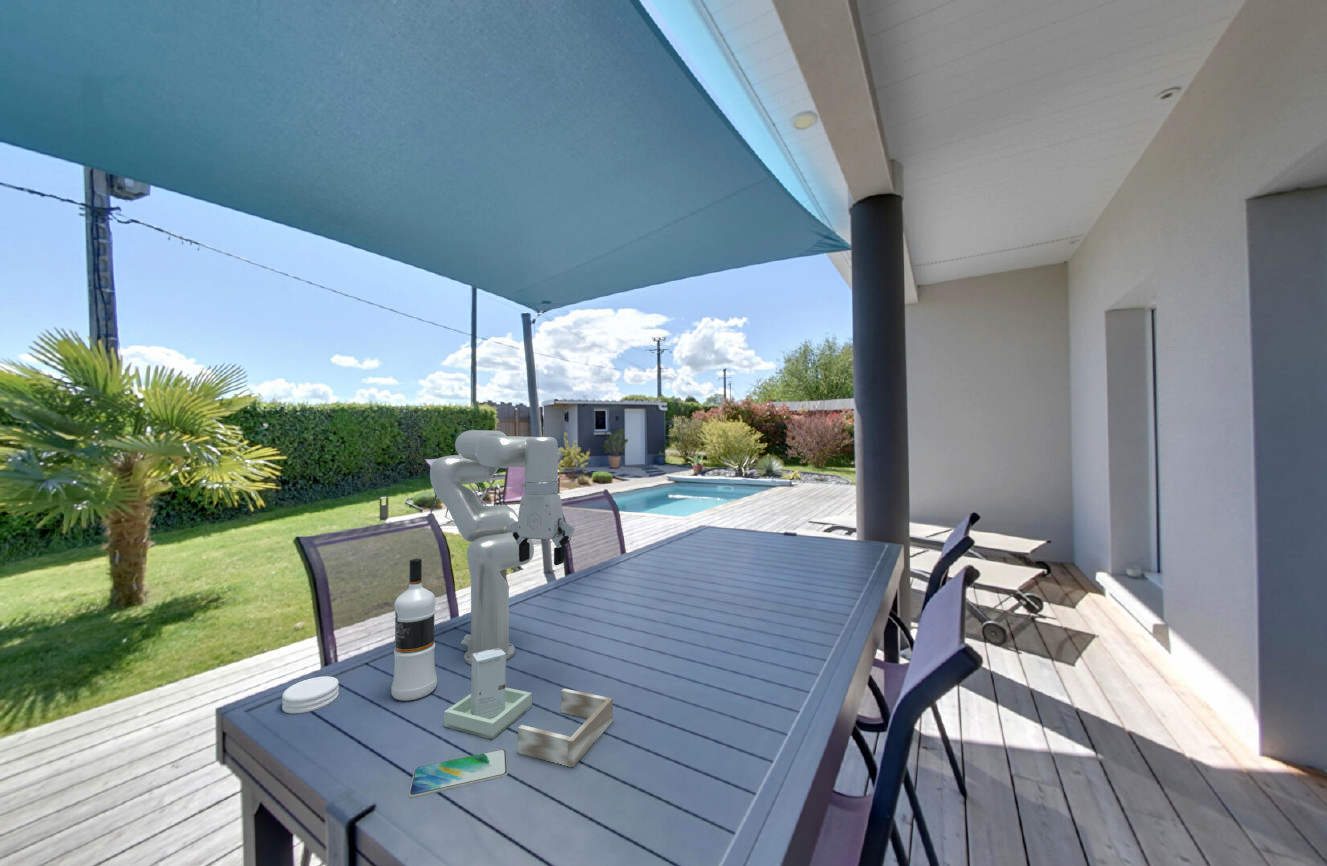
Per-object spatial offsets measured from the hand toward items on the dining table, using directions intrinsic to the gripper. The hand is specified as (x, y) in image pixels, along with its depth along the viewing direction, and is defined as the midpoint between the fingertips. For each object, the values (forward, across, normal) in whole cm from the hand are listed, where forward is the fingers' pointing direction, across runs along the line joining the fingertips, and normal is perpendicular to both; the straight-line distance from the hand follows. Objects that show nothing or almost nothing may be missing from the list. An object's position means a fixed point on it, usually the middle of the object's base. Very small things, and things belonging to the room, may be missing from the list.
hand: (541, 562), depth 112 cm
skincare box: (+28, -2, -15) cm, 32 cm away
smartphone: (+29, +5, -30) cm, 42 cm away
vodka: (+28, -25, -13) cm, 40 cm away
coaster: (+29, -43, -24) cm, 57 cm away
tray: (+28, -2, -15) cm, 32 cm away
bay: (+28, +17, -15) cm, 36 cm away
